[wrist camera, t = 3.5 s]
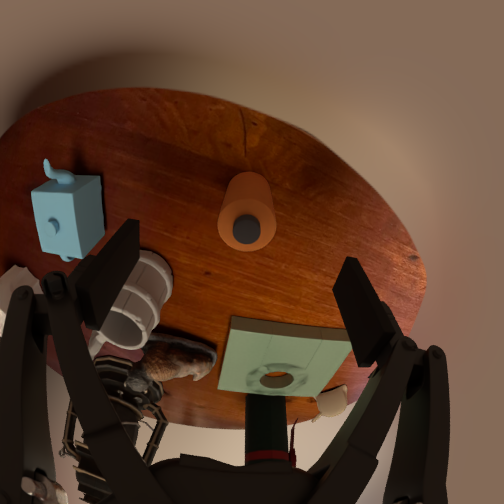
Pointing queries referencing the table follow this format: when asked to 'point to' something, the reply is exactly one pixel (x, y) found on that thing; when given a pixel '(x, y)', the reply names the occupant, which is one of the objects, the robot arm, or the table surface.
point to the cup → (9, 282)
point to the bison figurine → (170, 361)
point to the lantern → (129, 415)
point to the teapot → (68, 213)
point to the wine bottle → (267, 430)
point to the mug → (136, 305)
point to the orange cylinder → (247, 213)
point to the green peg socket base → (281, 357)
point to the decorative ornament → (332, 402)
